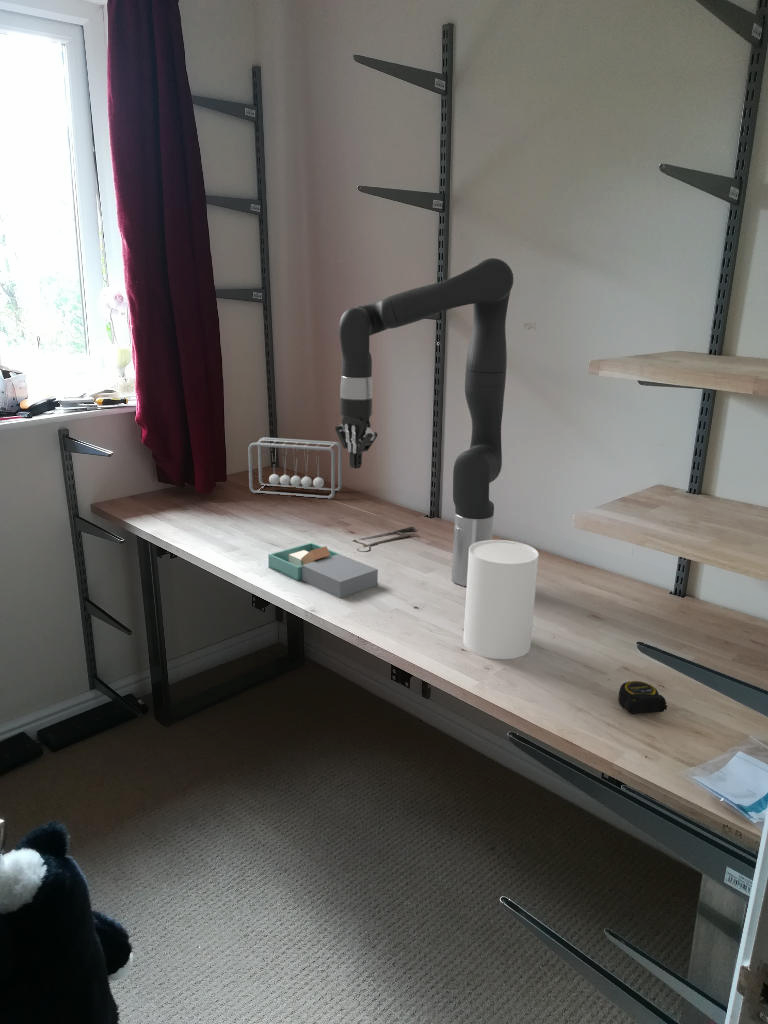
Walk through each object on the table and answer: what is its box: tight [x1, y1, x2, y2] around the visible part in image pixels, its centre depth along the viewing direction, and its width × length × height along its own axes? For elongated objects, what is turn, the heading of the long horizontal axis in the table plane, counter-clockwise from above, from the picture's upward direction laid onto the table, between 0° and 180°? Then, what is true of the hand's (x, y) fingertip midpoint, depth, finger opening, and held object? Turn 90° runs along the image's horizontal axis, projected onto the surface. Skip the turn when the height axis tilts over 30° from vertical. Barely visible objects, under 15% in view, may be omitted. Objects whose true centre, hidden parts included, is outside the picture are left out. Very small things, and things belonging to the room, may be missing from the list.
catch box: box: [267, 542, 340, 582], centre depth 189 cm, size 12×14×4 cm
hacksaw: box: [352, 526, 419, 553], centre depth 211 cm, size 24×10×2 cm, turn 123°
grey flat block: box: [301, 553, 379, 599], centre depth 179 cm, size 14×12×4 cm
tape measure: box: [617, 680, 668, 715], centre depth 129 cm, size 7×7×4 cm
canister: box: [462, 539, 540, 660], centre depth 149 cm, size 14×14×20 cm
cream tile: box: [289, 550, 308, 566], centre depth 189 cm, size 5×5×2 cm
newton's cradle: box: [247, 436, 343, 500], centre depth 253 cm, size 30×10×18 cm, turn 79°
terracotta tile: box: [301, 545, 330, 564], centre depth 185 cm, size 5×5×2 cm
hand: (355, 467), depth 179 cm, fingers closed
